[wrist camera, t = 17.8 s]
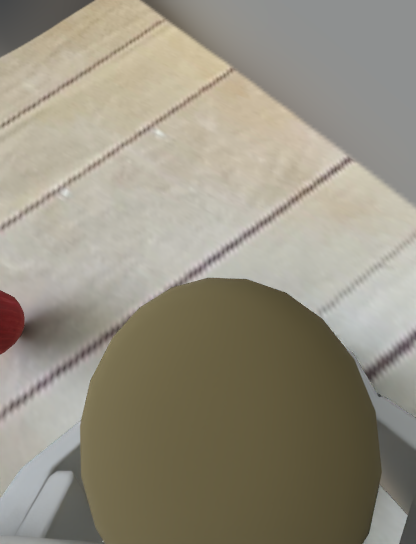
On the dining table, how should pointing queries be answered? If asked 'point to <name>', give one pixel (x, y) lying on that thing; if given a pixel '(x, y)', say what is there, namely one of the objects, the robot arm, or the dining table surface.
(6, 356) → the dining table surface
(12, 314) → the onion
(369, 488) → the cork
